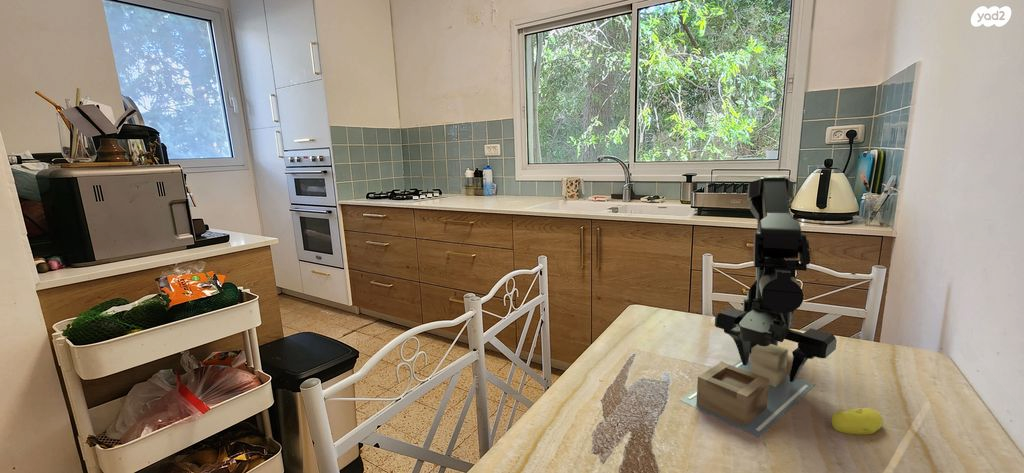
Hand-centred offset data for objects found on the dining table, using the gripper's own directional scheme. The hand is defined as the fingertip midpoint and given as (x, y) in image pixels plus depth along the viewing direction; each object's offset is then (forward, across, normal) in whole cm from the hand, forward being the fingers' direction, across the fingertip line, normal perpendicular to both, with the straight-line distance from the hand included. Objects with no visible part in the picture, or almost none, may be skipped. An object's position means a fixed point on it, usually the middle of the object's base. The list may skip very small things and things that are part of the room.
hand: (767, 372), depth 80 cm
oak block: (+1, 0, 0) cm, 1 cm away
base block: (+1, 0, -14) cm, 14 cm away
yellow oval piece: (+2, +15, -5) cm, 16 cm away
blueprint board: (+2, 0, -8) cm, 8 cm away
